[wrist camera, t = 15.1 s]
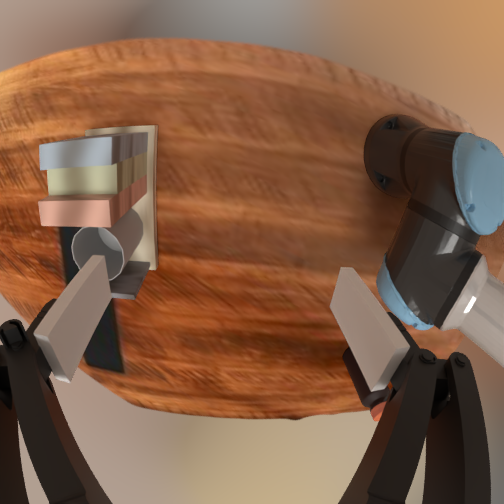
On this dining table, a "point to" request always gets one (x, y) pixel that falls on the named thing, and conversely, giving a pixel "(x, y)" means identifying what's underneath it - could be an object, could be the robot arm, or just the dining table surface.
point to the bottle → (365, 387)
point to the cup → (109, 243)
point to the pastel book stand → (106, 190)
